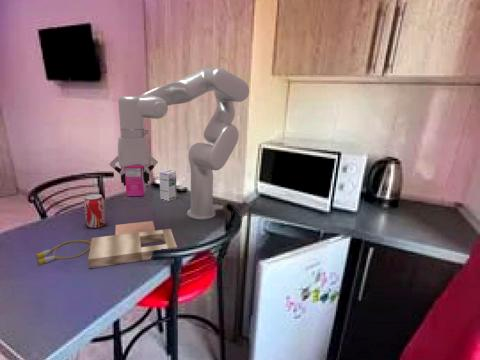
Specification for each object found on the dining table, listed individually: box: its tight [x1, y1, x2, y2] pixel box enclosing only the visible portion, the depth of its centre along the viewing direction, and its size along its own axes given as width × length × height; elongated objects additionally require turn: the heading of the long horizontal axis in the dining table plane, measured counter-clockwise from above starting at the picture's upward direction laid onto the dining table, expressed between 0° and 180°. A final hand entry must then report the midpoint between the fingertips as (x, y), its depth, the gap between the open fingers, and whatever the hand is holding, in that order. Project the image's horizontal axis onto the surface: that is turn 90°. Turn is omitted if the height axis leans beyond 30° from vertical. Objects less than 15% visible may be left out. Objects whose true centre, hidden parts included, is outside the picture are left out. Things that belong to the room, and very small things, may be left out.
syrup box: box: [159, 169, 178, 202], centre depth 145 cm, size 6×6×14 cm
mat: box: [114, 220, 156, 235], centre depth 112 cm, size 14×12×1 cm
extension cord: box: [35, 239, 91, 266], centre depth 96 cm, size 12×16×2 cm
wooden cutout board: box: [87, 228, 178, 269], centre depth 98 cm, size 26×14×3 cm, turn 111°
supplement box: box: [124, 165, 147, 198], centre depth 105 cm, size 6×6×12 cm
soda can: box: [83, 193, 107, 229], centre depth 113 cm, size 7×7×12 cm
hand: (135, 183), depth 105 cm, fingers closed on supplement box, 6 cm apart
